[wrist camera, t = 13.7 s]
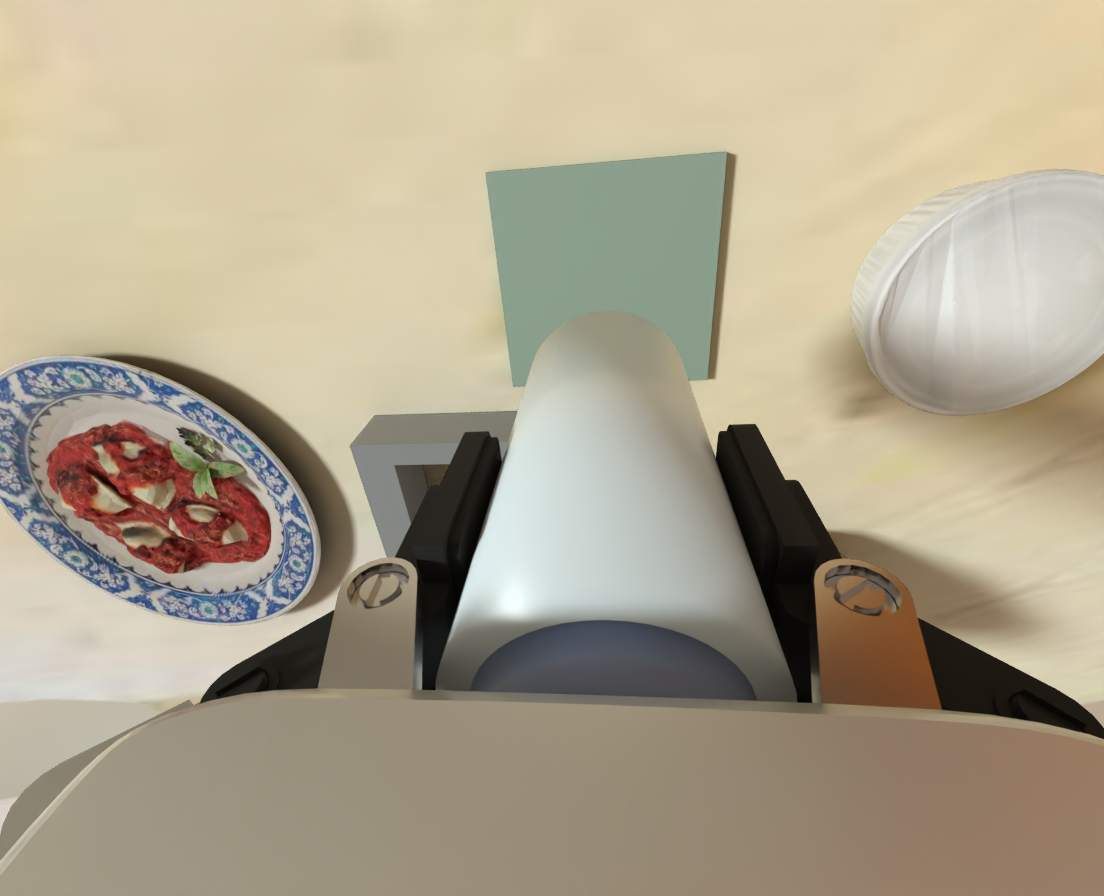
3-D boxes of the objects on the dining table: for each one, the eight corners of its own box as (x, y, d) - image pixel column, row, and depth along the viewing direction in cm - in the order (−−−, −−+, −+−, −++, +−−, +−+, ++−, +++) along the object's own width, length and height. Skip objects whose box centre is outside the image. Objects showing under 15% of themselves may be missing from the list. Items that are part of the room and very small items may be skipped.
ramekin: (786, 296, 28) (820, 326, 24) (986, 106, 23) (1077, 99, 19) (906, 411, 31) (957, 456, 27) (1107, 264, 26) (1211, 291, 22)
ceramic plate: (183, 632, 50) (161, 658, 48) (-67, 421, 39) (-114, 441, 36) (393, 566, 43) (380, 593, 40) (159, 281, 31) (120, 293, 29)
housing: (374, 415, 35) (349, 445, 31) (547, 410, 33) (541, 441, 30) (423, 581, 43) (408, 620, 40) (563, 583, 42) (560, 622, 38)
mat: (724, 151, 25) (727, 151, 25) (705, 376, 31) (707, 379, 31) (487, 172, 26) (485, 172, 26) (514, 383, 33) (513, 386, 32)
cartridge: (689, 305, 15) (885, 695, 5) (680, 449, 17) (792, 905, 7) (521, 314, 15) (358, 678, 5) (537, 453, 18) (449, 879, 8)
